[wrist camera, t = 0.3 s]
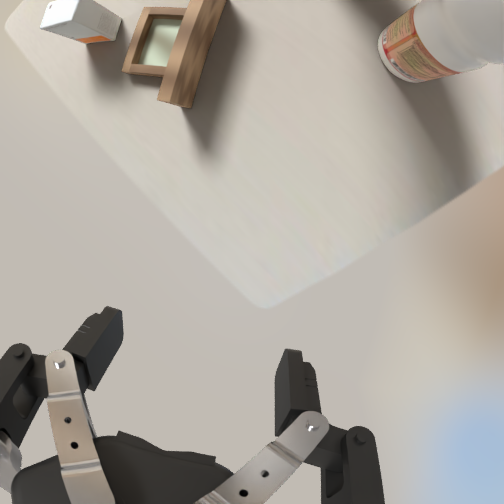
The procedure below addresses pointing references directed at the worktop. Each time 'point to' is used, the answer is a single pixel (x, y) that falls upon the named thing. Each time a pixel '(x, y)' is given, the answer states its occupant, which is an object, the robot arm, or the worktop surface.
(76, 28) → the skincare box
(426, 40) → the fruit juice
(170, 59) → the wooden frame stand
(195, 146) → the worktop surface
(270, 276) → the worktop surface
